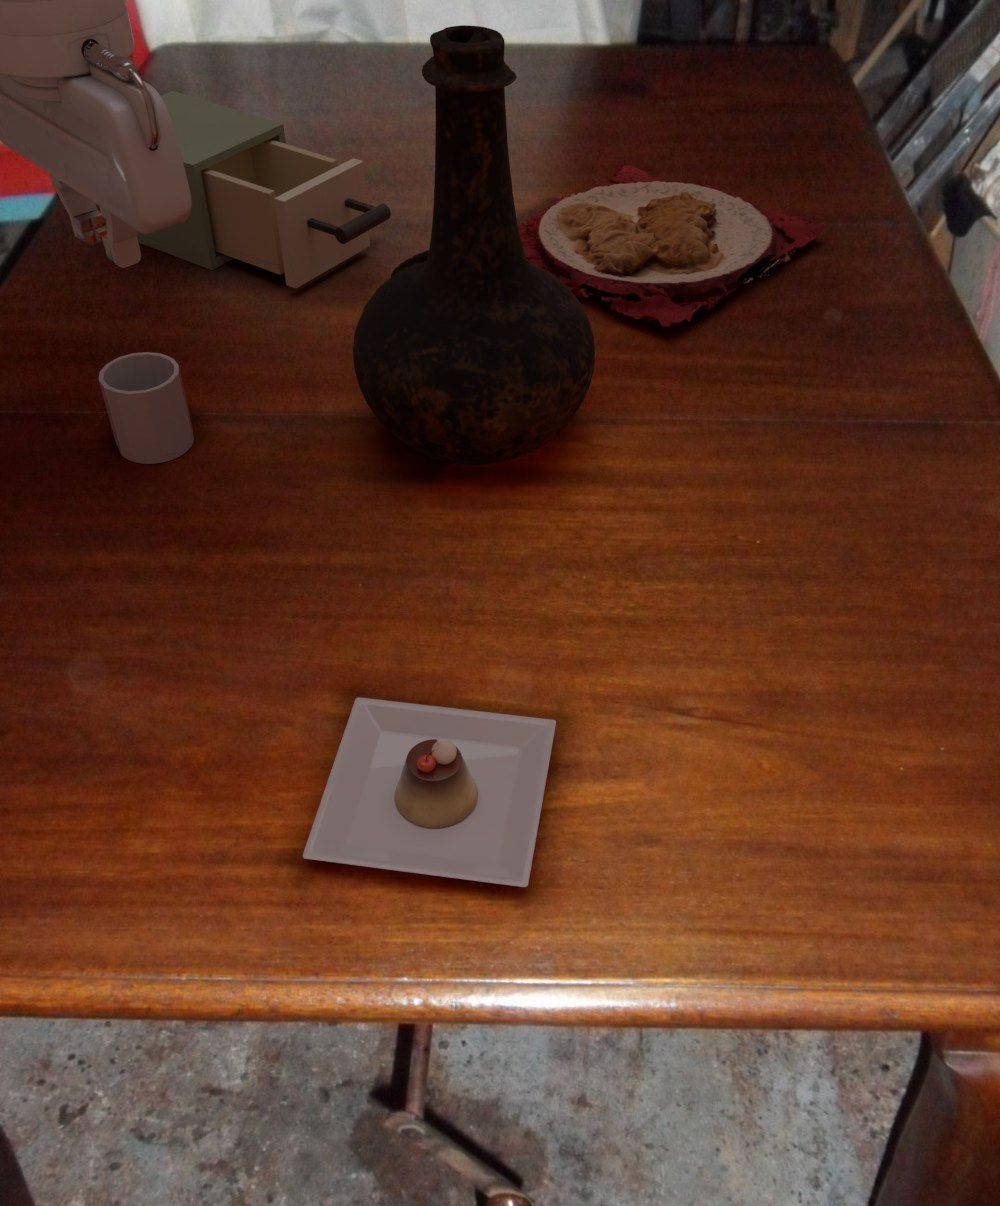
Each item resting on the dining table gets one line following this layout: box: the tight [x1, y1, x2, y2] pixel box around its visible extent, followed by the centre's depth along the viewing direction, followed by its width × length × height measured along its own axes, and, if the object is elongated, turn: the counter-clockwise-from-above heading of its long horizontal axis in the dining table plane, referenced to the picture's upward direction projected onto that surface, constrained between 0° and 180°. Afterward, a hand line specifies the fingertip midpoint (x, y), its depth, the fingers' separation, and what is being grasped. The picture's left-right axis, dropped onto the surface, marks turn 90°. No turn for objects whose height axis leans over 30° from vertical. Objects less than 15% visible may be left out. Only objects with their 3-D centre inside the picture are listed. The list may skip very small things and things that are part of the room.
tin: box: [98, 351, 195, 465], centre depth 89 cm, size 6×6×6 cm
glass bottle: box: [352, 24, 596, 466], centre depth 82 cm, size 18×18×28 cm
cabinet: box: [104, 90, 287, 271], centre depth 113 cm, size 15×12×10 cm
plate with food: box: [518, 165, 827, 328], centre depth 112 cm, size 24×26×4 cm
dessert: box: [302, 697, 557, 888], centre depth 65 cm, size 12×12×5 cm
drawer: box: [201, 139, 392, 289], centre depth 108 cm, size 18×10×8 cm, turn 55°
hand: (108, 250), depth 80 cm, fingers open, 3 cm apart
